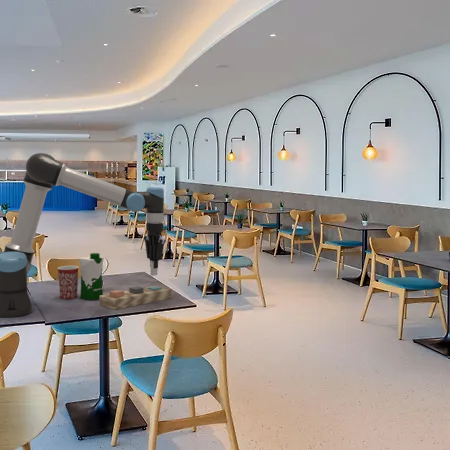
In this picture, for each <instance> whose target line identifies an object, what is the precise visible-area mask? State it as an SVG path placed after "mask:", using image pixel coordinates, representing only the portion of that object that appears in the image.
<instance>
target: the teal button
mask: <svg viewBox="0 0 450 450" xmlns="http://www.w3.org/2000/svg"><path fill="white" fill-rule="evenodd" d="M158 286H159V285H152V287H150V286H147V287H148V289H149V290H153V291H155V290H161V289H162V287H163V286H160V287H158Z"/></svg>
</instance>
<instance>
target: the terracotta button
mask: <svg viewBox="0 0 450 450" xmlns="http://www.w3.org/2000/svg"><path fill="white" fill-rule="evenodd" d="M124 291H125V290H121V289H115V290H110V291H109V294H110V296H111V297H114V298H118V297H123V296H124Z"/></svg>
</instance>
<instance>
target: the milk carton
mask: <svg viewBox="0 0 450 450" xmlns="http://www.w3.org/2000/svg"><path fill="white" fill-rule="evenodd" d="M89 254H90V255H89V256H84V257H81V258H78V261H79V266H80V297H79V299H80V300H89V301H95V300H98V299H99V300H100V297H99V296H100V295H104V293H103V262H104V260H105V259H104V257H101V256H100V253H98V252H93V253H92V252H91V253H89Z"/></svg>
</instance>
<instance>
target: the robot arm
mask: <svg viewBox="0 0 450 450" xmlns="http://www.w3.org/2000/svg"><path fill="white" fill-rule="evenodd" d="M23 177H24V178H23V183H24V185H25V189H24V192H23V197H22V200H21V203H20V207H19V211H18V215H17V217H16V221H15V225H14V228H13V232H12V235H11V239H10V242H8V243H6V244H5V246H4V250H3V252H2V253H0V318H14V317H15V318H16V317H22V316H27V315H29V314H31V313H32V312H33V310H34V309H33V307H34V306H33V303H32V302H31V299H30V296H29V293H28V292H29V291H28V274H29V271H30V270H31V268H32V261H33V259H34V254H35V250H34V248H33V244H34V240H35V237H36V232H37V229H38V225H39V221H40V218H41V215H42V212H43V208H44V205H45V201H46V197H47V194H48V192H49V191H52V189H53V186H54V187H58V186H61V187H62V186H63V187H65V188H67V189H71V190H73V191H77V192H79V193H82V194H85V195H88V196H90V197H92V198H96V199H99V200H102V201H104V202H107V203H111V204H114V205H116V206H118V207H119V208H120V209H125V210H130V211H131V212H133V213H137V212H140V211H142V210H144V209H145V210H146V211H145V212H146V215H145V216H146V217H145V221H146V224H145V225H146V227H145V230H146V232H147V234H146V236H144V237H143V240H144V242H145V252H146V258H147V259H149V267H150V276H152V277H153V276H158V268H159V261H161V260H162V259H163V253H164V247H165V244H166V242H167V240H166V238H165V239H164V238H163V235H162V232H164V223H163V222H164V214H165V213H164V208H165V204H164V203H165V195H164V193H165V190H164V188H163V187H160V186H157V187H155V186H152V187H151V186H148V187H147V188H146V191H133V190H130V189H127V188H124V187H122V186H119V185H117V184H115V183H114V184H113V183H111V182H108V181H106V180H102V179H100V178H98V177H95V176H92V175H89V174H86V173H83V172H81V171H78V170H76V169H74V168H71V167H68V166H67V165H66V164H65V163H64V162H61V161H60V160H56V159H55V158H54V157H53V156H52V155H51V154H48V153H46V152H45V153H44V152H38V153H34V154H32V155H31V156H29V158H28V159H27V161H26V164H25V174H24V176H23Z"/></svg>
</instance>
